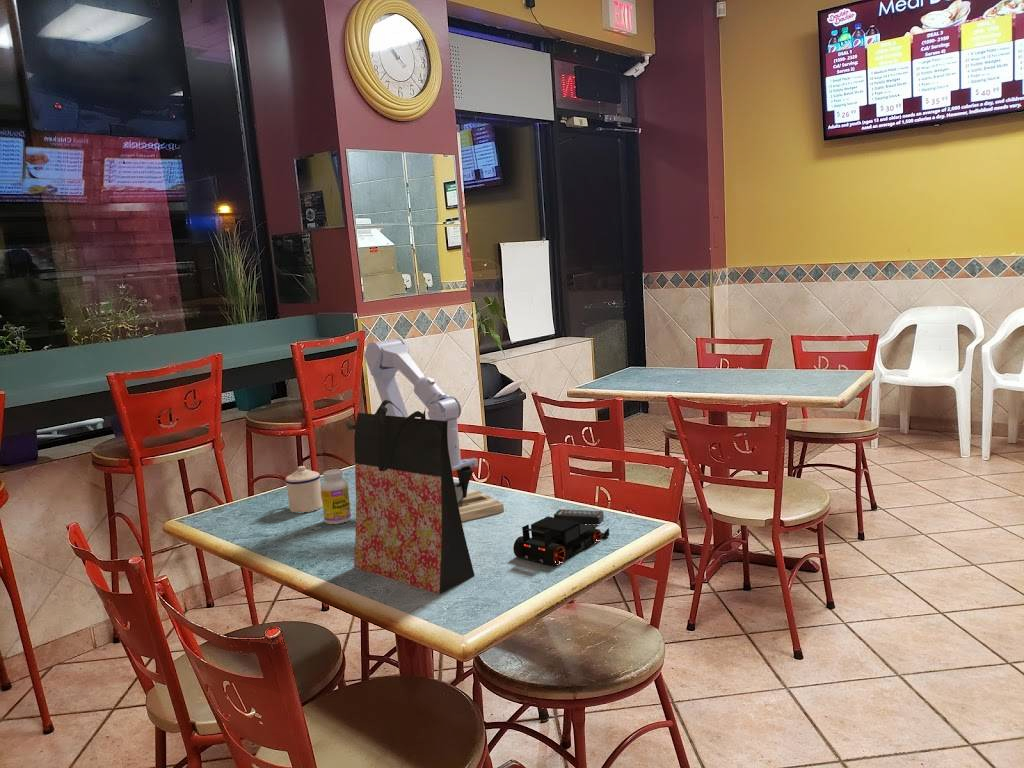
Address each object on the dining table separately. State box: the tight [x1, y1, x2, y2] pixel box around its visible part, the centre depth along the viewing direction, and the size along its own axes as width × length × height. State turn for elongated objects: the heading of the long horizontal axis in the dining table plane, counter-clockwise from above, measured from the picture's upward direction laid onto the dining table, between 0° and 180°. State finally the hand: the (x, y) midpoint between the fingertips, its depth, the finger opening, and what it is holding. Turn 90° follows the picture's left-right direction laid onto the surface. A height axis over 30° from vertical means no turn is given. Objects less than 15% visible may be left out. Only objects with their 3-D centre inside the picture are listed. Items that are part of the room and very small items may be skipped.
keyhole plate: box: [459, 489, 505, 523], centre depth 192 cm, size 16×15×2 cm
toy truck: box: [512, 516, 610, 567], centre depth 161 cm, size 10×20×7 cm, turn 139°
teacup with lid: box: [284, 465, 323, 513], centre depth 205 cm, size 12×9×12 cm
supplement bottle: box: [320, 468, 352, 525], centre depth 192 cm, size 7×7×13 cm
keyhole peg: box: [454, 481, 464, 507], centre depth 191 cm, size 5×5×7 cm
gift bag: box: [345, 400, 476, 595], centre depth 154 cm, size 29×14×35 cm, turn 49°
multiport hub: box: [553, 509, 605, 525], centre depth 177 cm, size 4×11×2 cm, turn 68°
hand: (453, 499), depth 191 cm, fingers closed on keyhole peg, 5 cm apart
